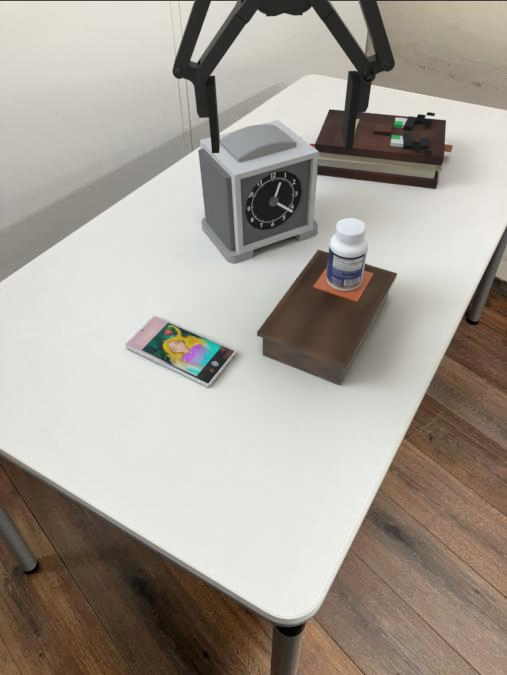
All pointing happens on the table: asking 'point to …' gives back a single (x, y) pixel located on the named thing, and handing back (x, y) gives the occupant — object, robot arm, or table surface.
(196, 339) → the smartphone
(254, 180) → the alarm clock
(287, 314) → the wooden box
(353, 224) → the pill bottle
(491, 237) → the table surface
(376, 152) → the decorative book
